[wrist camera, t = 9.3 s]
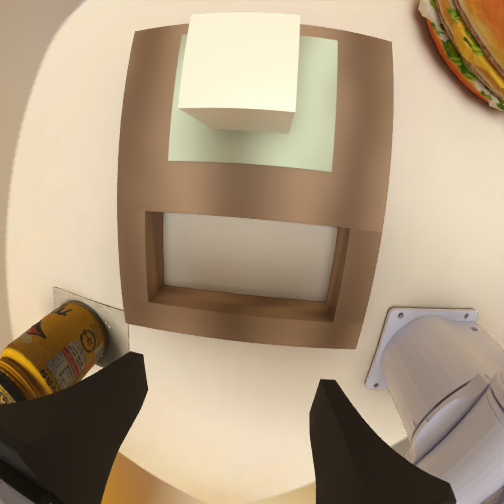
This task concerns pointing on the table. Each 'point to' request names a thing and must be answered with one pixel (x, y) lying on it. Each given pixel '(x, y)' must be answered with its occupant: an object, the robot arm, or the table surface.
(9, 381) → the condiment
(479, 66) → the burger
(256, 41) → the cream block
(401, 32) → the table surface
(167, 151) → the board
